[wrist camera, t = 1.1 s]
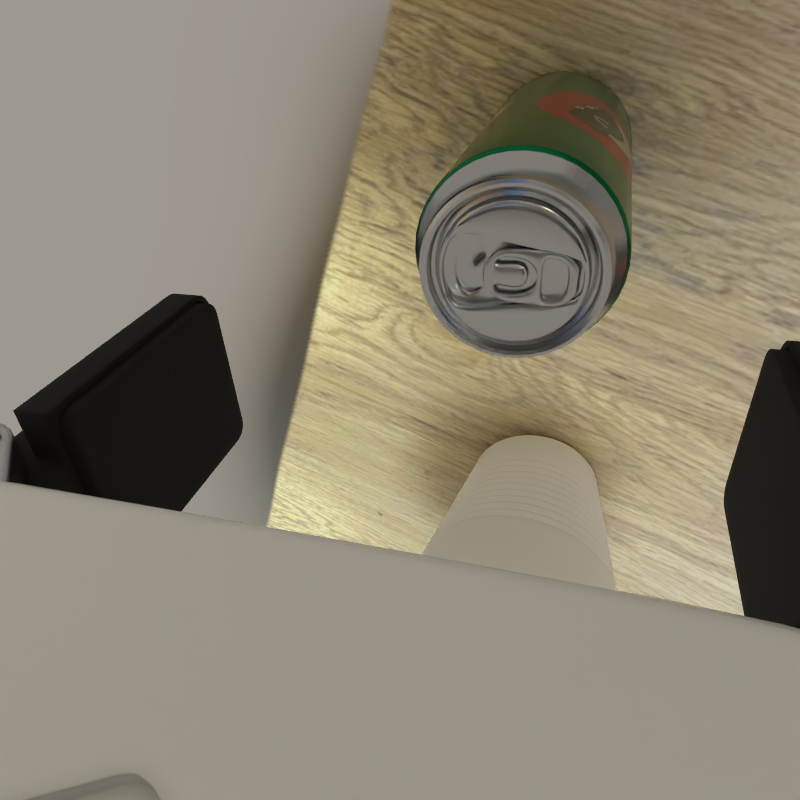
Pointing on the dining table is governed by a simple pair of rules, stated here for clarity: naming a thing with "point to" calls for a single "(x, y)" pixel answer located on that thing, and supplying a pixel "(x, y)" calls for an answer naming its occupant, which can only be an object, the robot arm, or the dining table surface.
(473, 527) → the cup
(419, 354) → the dining table surface
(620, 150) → the soda can
